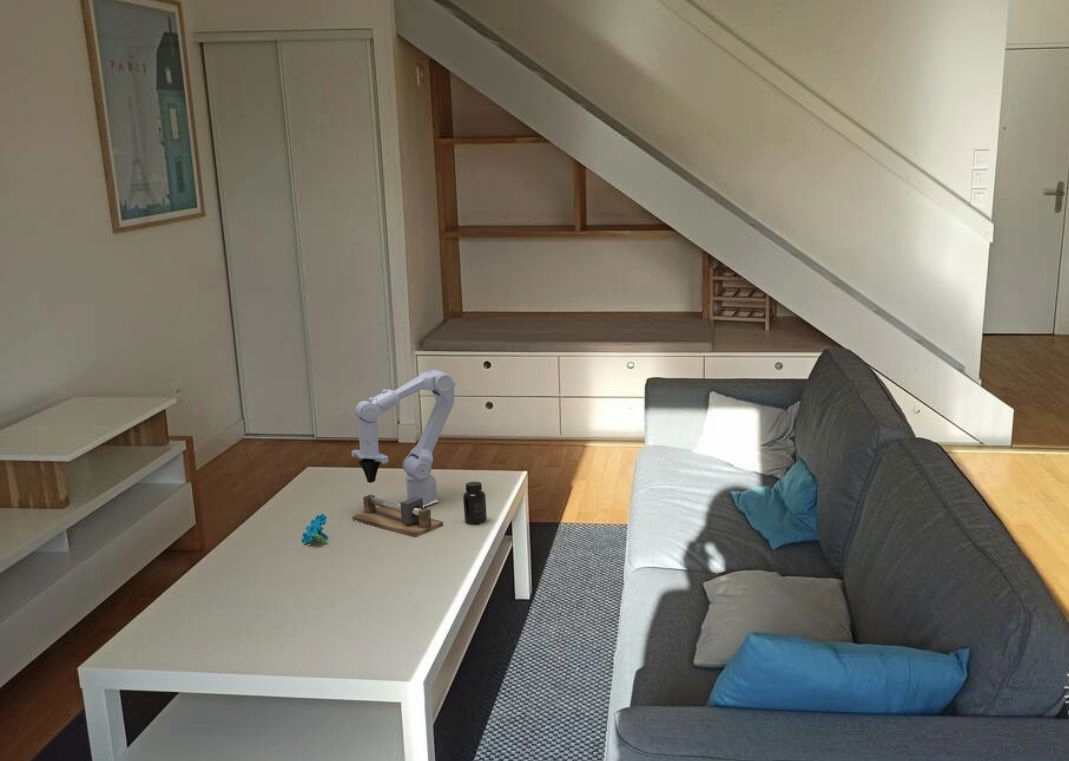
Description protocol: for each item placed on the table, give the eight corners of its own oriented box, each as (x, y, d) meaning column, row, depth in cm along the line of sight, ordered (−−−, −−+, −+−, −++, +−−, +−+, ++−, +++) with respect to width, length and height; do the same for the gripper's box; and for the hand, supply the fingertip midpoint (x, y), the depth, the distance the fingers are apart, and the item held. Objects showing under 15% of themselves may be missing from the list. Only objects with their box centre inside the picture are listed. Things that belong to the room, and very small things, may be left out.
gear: (298, 531, 296) (321, 506, 296) (313, 542, 299) (336, 517, 299) (301, 548, 286) (325, 523, 286) (317, 559, 289) (341, 534, 289)
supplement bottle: (488, 517, 307) (486, 480, 305) (485, 525, 301) (483, 487, 298) (466, 517, 308) (464, 480, 306) (462, 525, 302) (460, 487, 299)
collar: (416, 516, 304) (415, 496, 303) (423, 518, 303) (422, 498, 301) (401, 522, 300) (400, 502, 298) (408, 524, 298) (407, 504, 296)
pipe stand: (381, 509, 318) (379, 490, 317) (443, 525, 302) (442, 504, 301) (352, 520, 309) (351, 500, 308) (415, 537, 293) (413, 516, 292)
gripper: (343, 439, 311) (346, 481, 314) (375, 445, 302) (378, 489, 305) (360, 434, 317) (362, 475, 319) (392, 440, 308) (394, 483, 311)
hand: (371, 481), depth 313 cm, fingers closed
